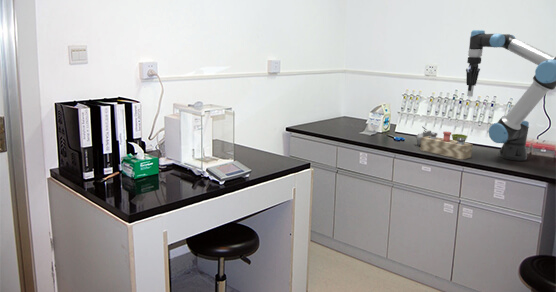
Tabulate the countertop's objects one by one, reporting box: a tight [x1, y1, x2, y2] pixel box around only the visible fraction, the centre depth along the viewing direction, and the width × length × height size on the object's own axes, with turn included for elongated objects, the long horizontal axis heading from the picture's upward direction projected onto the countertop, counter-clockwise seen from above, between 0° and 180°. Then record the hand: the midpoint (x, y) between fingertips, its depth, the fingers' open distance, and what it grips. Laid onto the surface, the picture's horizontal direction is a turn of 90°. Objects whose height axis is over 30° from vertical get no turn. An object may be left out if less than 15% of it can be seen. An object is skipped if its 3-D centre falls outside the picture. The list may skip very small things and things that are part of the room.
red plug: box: [442, 131, 452, 142], centre depth 273 cm, size 5×5×10 cm
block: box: [419, 136, 474, 161], centre depth 274 cm, size 28×10×8 cm, turn 40°
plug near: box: [457, 138, 466, 145], centre depth 267 cm, size 5×5×10 cm
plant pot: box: [451, 133, 468, 143], centre depth 288 cm, size 9×9×9 cm
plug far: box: [430, 132, 438, 139], centre depth 280 cm, size 5×5×10 cm
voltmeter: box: [415, 126, 432, 147], centre depth 299 cm, size 27×11×10 cm, turn 176°
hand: (469, 96), depth 275 cm, fingers closed
